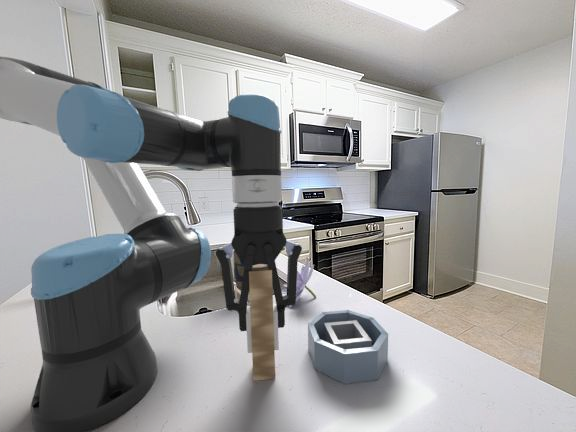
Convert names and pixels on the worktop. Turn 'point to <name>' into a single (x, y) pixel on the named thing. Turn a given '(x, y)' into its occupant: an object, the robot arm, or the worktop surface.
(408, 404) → the worktop surface
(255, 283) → the square wooden post
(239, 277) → the canister
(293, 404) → the worktop surface
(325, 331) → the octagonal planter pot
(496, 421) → the worktop surface
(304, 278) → the water lily
